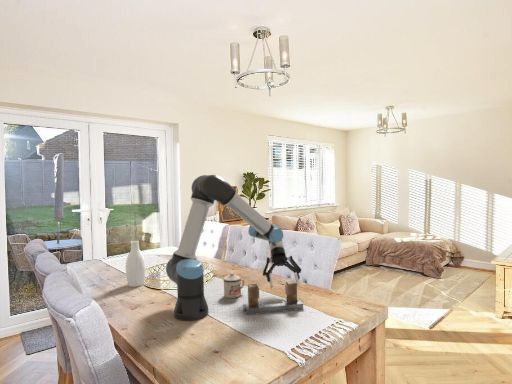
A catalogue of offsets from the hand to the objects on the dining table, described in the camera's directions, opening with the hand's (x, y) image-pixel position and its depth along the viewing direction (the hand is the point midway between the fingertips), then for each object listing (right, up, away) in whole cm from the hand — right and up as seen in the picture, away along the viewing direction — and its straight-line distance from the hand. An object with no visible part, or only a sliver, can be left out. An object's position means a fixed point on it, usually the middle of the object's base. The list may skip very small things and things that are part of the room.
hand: (285, 286), depth 167 cm
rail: (-7, -7, -14) cm, 17 cm away
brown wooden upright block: (+2, -6, -10) cm, 12 cm away
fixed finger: (-16, -7, -13) cm, 22 cm away
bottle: (-84, -7, +28) cm, 89 cm away
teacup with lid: (-25, -7, +7) cm, 27 cm away
